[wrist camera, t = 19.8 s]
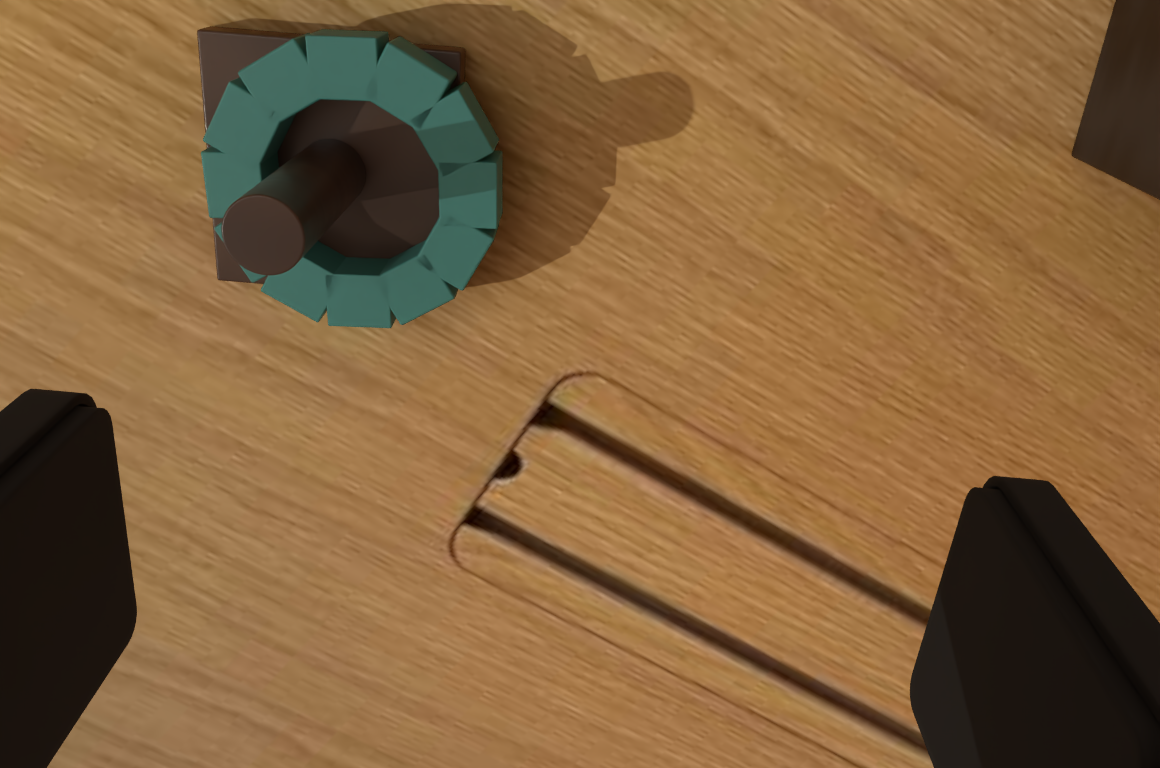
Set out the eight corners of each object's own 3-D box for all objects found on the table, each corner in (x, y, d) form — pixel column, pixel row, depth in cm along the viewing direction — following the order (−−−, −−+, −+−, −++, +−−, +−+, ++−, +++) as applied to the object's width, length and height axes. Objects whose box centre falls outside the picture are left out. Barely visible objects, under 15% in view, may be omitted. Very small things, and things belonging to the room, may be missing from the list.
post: (208, 26, 35) (83, 58, 26) (465, 47, 35) (422, 86, 26) (227, 270, 38) (123, 367, 30) (459, 289, 38) (419, 390, 30)
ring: (207, 24, 33) (184, 30, 32) (502, 35, 33) (496, 42, 31) (240, 302, 38) (221, 321, 36) (502, 313, 38) (497, 332, 36)
